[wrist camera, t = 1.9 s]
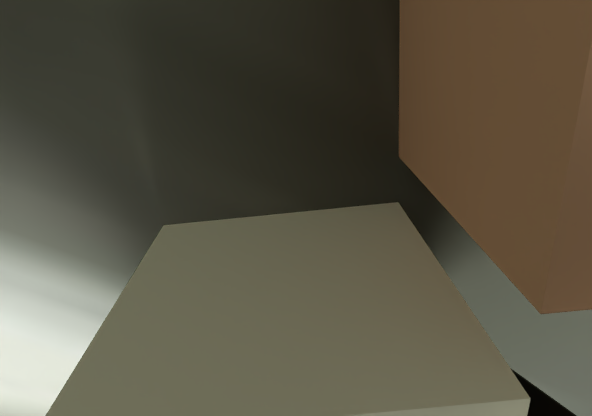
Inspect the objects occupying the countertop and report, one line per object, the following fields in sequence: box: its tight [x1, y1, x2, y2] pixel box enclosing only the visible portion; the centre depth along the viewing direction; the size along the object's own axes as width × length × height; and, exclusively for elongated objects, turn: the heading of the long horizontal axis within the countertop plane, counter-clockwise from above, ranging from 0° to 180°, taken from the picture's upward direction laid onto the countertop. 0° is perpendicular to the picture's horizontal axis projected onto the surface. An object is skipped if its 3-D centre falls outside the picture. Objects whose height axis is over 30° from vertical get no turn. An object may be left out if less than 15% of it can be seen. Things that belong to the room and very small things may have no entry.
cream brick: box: [46, 202, 531, 416], centre depth 7 cm, size 5×5×5 cm
